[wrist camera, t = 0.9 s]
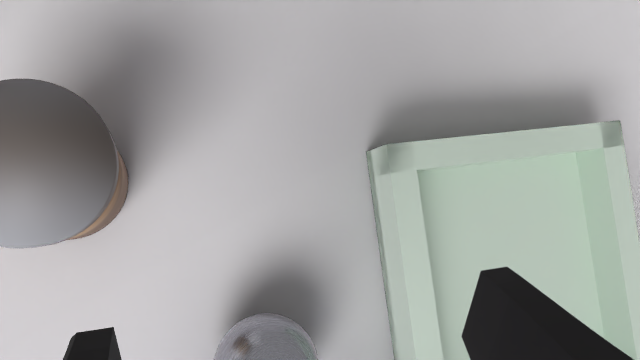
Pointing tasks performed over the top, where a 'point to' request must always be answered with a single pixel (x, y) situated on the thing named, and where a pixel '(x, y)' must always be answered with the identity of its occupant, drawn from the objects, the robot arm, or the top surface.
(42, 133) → the cylinder
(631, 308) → the tray
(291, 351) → the ball
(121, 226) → the top surface
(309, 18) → the top surface
